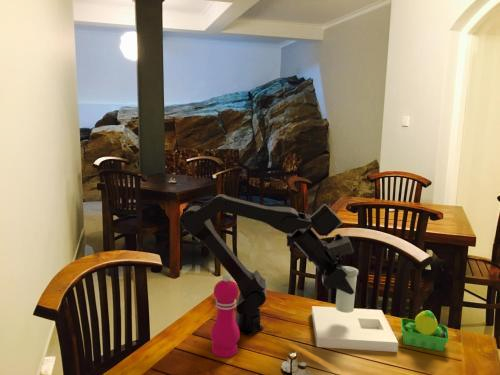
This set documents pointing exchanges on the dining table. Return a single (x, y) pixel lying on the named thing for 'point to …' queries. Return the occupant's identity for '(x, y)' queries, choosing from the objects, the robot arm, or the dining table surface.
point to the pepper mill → (225, 319)
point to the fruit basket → (424, 331)
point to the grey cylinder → (344, 299)
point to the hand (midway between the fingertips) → (351, 289)
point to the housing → (353, 329)
